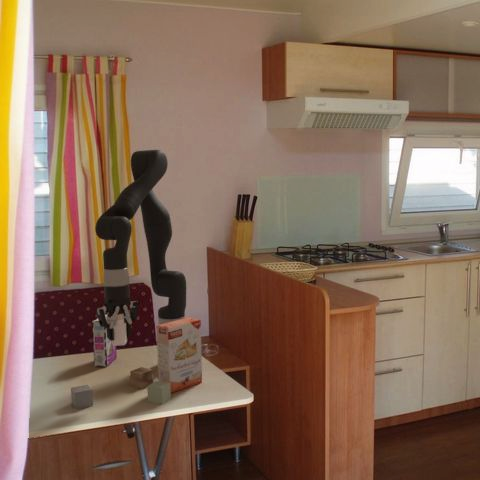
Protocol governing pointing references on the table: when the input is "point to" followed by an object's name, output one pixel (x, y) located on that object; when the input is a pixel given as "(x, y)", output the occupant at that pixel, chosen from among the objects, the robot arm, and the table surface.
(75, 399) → the slate grey block
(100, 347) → the candy bar box
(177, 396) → the table surface
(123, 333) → the salt shaker
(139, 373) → the walnut block
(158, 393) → the sage green block
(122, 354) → the table surface
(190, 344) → the cracker box
